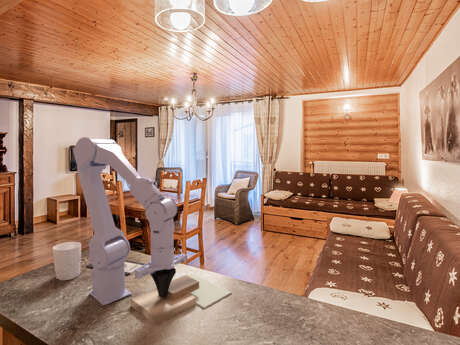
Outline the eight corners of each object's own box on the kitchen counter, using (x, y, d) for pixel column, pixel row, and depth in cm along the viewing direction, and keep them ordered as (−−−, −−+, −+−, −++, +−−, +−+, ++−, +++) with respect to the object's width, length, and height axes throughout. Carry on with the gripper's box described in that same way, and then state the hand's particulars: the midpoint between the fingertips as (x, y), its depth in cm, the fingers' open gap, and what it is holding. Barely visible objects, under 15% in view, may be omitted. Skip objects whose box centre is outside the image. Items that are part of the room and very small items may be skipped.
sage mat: (163, 285, 83) (163, 284, 83) (190, 274, 91) (190, 273, 91) (204, 308, 71) (204, 307, 71) (231, 293, 79) (231, 292, 79)
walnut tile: (159, 292, 75) (159, 285, 75) (185, 281, 82) (185, 275, 82) (172, 301, 71) (172, 293, 71) (199, 288, 78) (199, 281, 78)
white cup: (75, 268, 95) (74, 240, 94) (86, 274, 90) (85, 244, 89) (49, 276, 88) (48, 246, 88) (60, 284, 84) (59, 251, 83)
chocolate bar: (105, 256, 104) (145, 263, 98) (106, 259, 104) (145, 266, 98) (86, 265, 96) (127, 274, 90) (86, 268, 96) (127, 277, 90)
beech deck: (130, 305, 72) (130, 298, 72) (169, 289, 81) (168, 282, 81) (156, 325, 64) (156, 317, 64) (195, 304, 73) (195, 297, 73)
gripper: (145, 257, 63) (146, 313, 64) (193, 242, 74) (194, 290, 75) (130, 249, 68) (131, 302, 69) (177, 236, 79) (178, 282, 80)
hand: (162, 295), depth 72 cm, fingers closed
